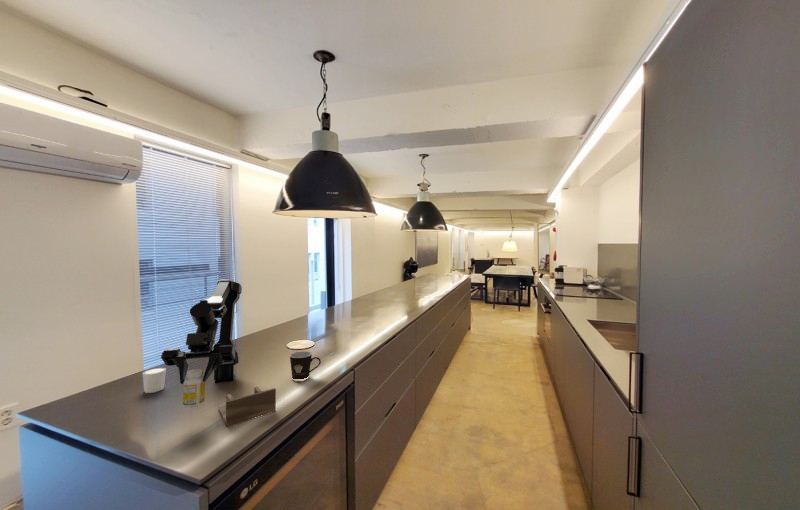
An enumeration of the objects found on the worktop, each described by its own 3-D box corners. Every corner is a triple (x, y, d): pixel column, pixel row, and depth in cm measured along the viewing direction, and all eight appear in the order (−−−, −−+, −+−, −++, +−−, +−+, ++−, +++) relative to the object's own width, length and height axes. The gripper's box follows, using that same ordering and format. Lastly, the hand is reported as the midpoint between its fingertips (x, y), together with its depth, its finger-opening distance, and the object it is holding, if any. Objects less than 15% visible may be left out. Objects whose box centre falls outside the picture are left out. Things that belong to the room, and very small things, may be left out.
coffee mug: (284, 381, 121) (285, 356, 121) (299, 373, 129) (299, 350, 129) (308, 385, 117) (308, 360, 117) (321, 377, 125) (322, 353, 125)
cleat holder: (218, 411, 97) (218, 388, 97) (263, 398, 106) (264, 377, 106) (226, 427, 88) (226, 402, 88) (275, 411, 97) (275, 389, 97)
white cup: (152, 394, 108) (152, 375, 108) (137, 392, 110) (137, 373, 110) (170, 386, 115) (170, 368, 115) (155, 384, 116) (156, 366, 116)
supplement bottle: (187, 410, 85) (187, 376, 85) (179, 404, 88) (180, 371, 88) (207, 402, 89) (208, 370, 90) (200, 397, 93) (200, 366, 93)
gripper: (164, 322, 90) (144, 373, 79) (233, 319, 95) (223, 367, 85) (174, 341, 97) (158, 390, 87) (238, 337, 103) (230, 383, 92)
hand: (192, 382), depth 88 cm, fingers closed on supplement bottle, 5 cm apart
